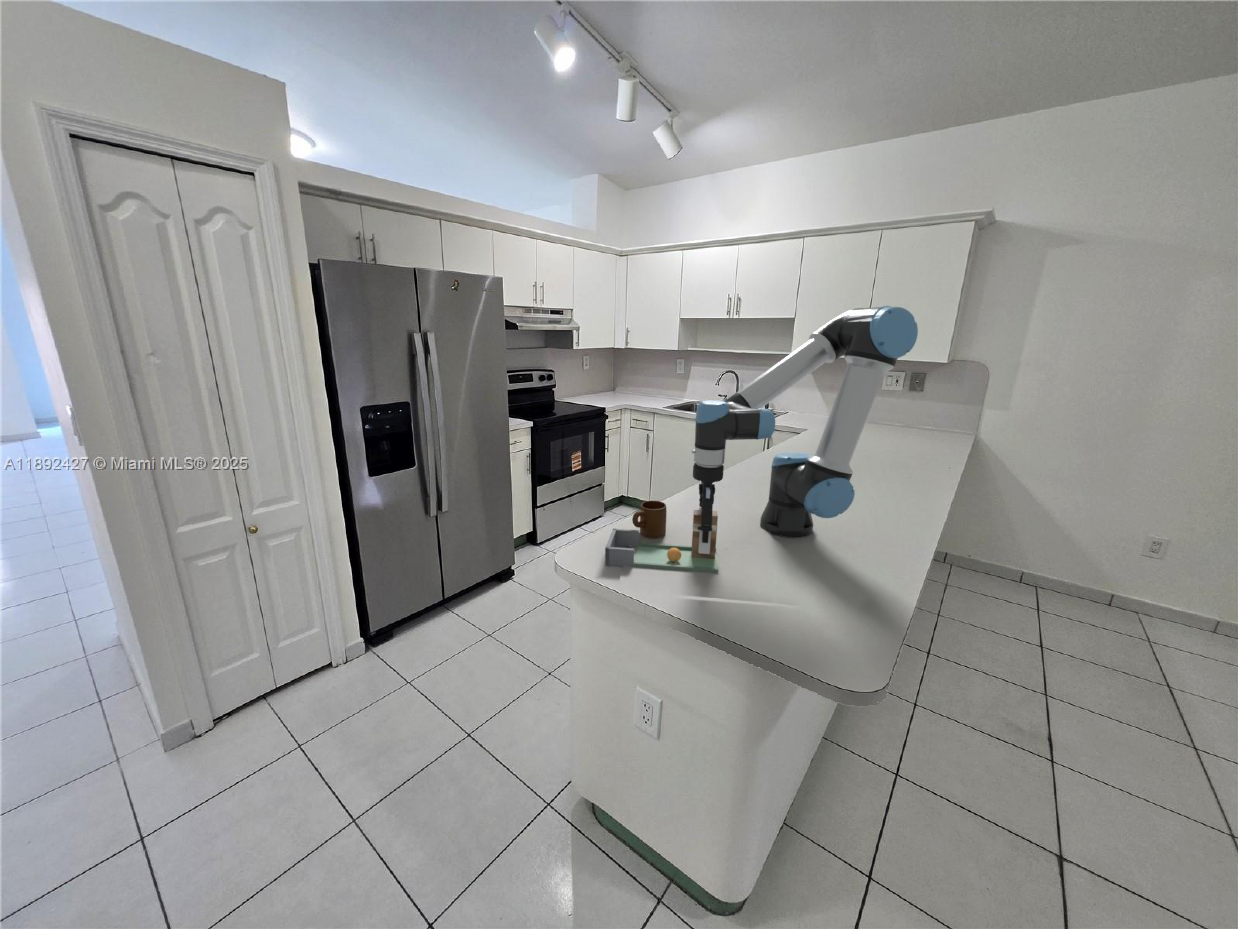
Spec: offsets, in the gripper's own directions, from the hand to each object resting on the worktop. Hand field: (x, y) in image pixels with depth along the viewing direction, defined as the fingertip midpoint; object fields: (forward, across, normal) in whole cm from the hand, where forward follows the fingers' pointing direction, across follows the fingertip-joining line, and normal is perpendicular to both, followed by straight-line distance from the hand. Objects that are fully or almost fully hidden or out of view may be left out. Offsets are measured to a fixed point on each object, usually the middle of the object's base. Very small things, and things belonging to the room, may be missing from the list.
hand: (703, 541), depth 121 cm
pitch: (+5, +3, -10) cm, 12 cm away
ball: (+2, +4, -7) cm, 9 cm away
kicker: (+4, 0, 0) cm, 4 cm away
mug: (+5, -10, -15) cm, 19 cm away
